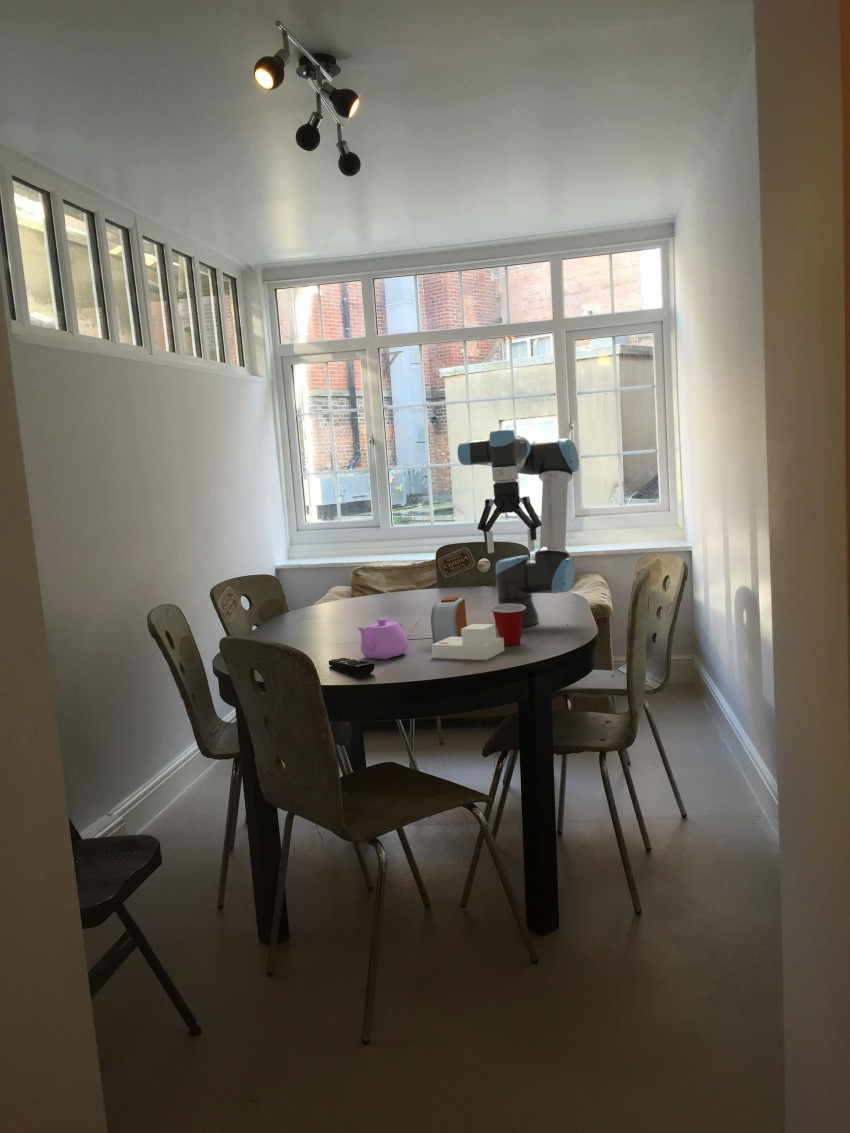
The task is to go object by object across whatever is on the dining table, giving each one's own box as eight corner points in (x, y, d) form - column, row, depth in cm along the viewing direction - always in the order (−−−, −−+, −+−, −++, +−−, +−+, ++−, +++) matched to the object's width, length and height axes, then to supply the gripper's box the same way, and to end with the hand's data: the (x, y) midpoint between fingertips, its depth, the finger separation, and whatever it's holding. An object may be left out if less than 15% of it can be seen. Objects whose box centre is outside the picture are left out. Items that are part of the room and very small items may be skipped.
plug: (463, 653, 263) (460, 628, 262) (474, 648, 269) (472, 624, 269) (485, 654, 259) (483, 629, 258) (497, 649, 266) (495, 624, 265)
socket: (451, 649, 276) (450, 636, 276) (504, 650, 267) (503, 637, 266) (432, 658, 266) (431, 644, 266) (486, 659, 257) (485, 646, 256)
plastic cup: (510, 649, 268) (506, 610, 267) (486, 645, 277) (483, 607, 275) (536, 642, 274) (533, 604, 273) (512, 639, 283) (509, 602, 282)
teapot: (387, 649, 286) (384, 613, 285) (420, 651, 278) (416, 614, 276) (345, 663, 270) (341, 624, 269) (378, 666, 262) (374, 626, 261)
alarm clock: (444, 636, 298) (440, 596, 297) (469, 635, 296) (465, 595, 294) (432, 646, 284) (428, 604, 283) (458, 645, 282) (454, 602, 280)
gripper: (463, 485, 271) (469, 554, 273) (538, 479, 258) (544, 552, 260) (474, 483, 277) (480, 551, 280) (549, 477, 265) (554, 549, 267)
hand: (511, 552), depth 270 cm, fingers open, 13 cm apart
